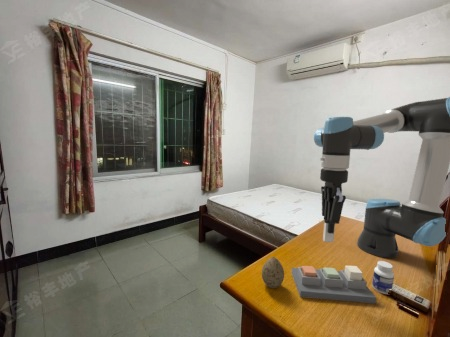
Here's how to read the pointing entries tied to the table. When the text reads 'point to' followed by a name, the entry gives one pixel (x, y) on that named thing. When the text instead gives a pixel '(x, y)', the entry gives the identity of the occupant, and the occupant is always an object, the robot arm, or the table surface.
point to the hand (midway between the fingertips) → (328, 240)
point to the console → (332, 287)
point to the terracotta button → (308, 271)
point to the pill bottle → (383, 277)
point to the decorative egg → (273, 273)
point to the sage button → (330, 273)
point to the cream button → (353, 273)
